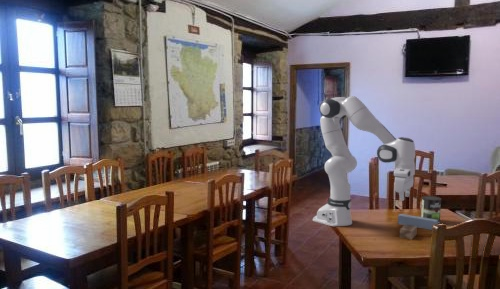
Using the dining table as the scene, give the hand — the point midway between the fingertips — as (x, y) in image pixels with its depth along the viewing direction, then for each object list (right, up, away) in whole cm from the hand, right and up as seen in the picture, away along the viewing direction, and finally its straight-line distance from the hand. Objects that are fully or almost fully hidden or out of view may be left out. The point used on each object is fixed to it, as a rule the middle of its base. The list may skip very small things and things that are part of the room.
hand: (404, 198), depth 196 cm
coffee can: (+29, -18, +35) cm, 49 cm away
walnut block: (+6, -21, +11) cm, 24 cm away
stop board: (+17, -19, +26) cm, 37 cm away
